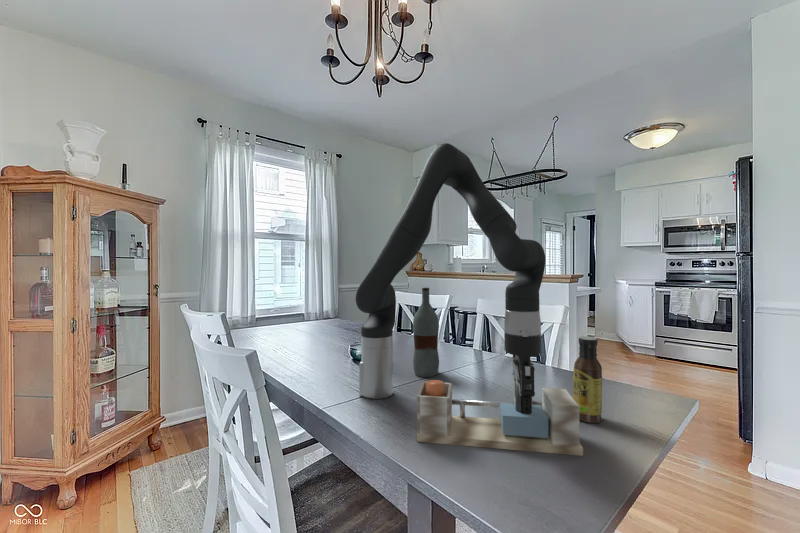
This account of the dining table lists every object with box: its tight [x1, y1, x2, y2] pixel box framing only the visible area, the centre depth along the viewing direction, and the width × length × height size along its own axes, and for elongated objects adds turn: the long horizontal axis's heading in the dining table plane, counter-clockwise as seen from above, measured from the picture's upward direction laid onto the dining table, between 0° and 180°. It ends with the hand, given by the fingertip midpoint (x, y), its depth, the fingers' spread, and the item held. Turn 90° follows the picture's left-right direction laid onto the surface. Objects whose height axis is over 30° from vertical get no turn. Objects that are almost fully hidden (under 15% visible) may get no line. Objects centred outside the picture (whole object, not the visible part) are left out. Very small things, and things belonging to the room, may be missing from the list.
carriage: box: [499, 382, 548, 438], centre depth 77 cm, size 9×7×10 cm
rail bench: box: [416, 381, 584, 457], centre depth 79 cm, size 33×11×10 cm, turn 79°
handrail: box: [452, 398, 543, 418], centre depth 83 cm, size 20×1×4 cm, turn 79°
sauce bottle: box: [572, 335, 603, 424], centre depth 87 cm, size 6×6×20 cm
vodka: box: [412, 287, 440, 378], centre depth 124 cm, size 9×9×30 cm
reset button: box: [425, 379, 445, 397], centre depth 81 cm, size 4×4×4 cm
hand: (522, 405), depth 77 cm, fingers open, 8 cm apart
